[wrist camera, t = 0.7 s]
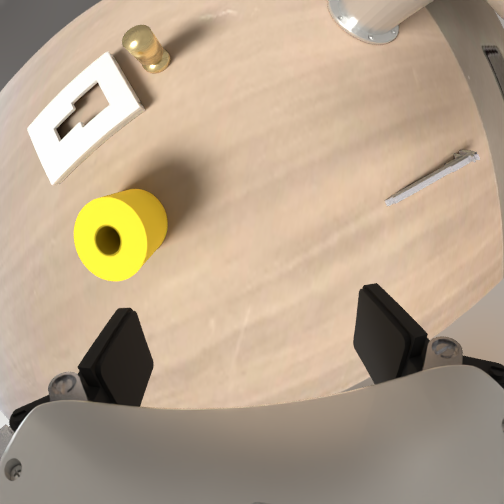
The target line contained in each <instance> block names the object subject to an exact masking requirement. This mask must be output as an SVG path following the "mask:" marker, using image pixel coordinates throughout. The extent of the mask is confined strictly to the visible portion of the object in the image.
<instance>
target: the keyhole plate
mask: <svg viewBox="0 0 504 504" xmlns="http://www.w3.org/2000/svg"><path fill="white" fill-rule="evenodd" d="M115 60H116V59H115V58H114V56H113V55H111V54H110V53H109V52H108V51H107V52H106V53H105V54H103V55H102V56H101V57H99V58H98V59H97V60H96V61H94V62H93V63H92V64H91V65H90V66H88V67H87V68H86V69H85V70H84V71H83V72H81V73H80V74H79V75H78V76H77V77H76V78H75V79H74V80H72V81H71V82H70V83H69V84H68V85H67V86H66V87H65V88H64V89H63V90H62V91H61V92H60V93H59V94H58V95H57V96H56V97H55V98H54V99H53V100H52V101H51V102H50V103H49V104H48V105H47V106H46V108H45V109H44V110H43V111H42V112H41V113H40V114H39V115H38V116H37V118H36V119H35V120H34V121H33V122H32V123H31V125H30V126H29V127H28V128H27V130H28V132H29V135H30V138H31V140H32V142H33V145H34V147H35V150H36V152H37V154H38V157H39V159H40V161H41V163H42V166H43V168H44V170H45V172H46V174H47V176H48V178H49V180H50V182H51V184H52V185H56V184H61V183H62V182H63V180H64V179H65V178H66V177H67V176H68V175H69V174H70V173H71V172H72V171H73V170H74V169H75V168H77V167H78V166H79V165H80V164H81V163H82V162H83V161H84V160H85V159H86V158H87V157H88V156H89V155H90V154H92V153H93V152H94V151H95V150H96V149H97V148H98V147H99V146H101V145H102V144H103V143H104V142H105V141H106V140H108V139H109V138H110V137H111V136H113V135H114V134H115V133H116V132H117V131H119V130H120V129H121V128H122V127H124V126H125V125H126V124H128V123H129V122H130V121H132V120H133V119H134V118H136V117H137V116H138V115H140V114H141V113H142V112H144V111H145V109H144V107H143V105H141V104H140V103H141V102H140V100H139V99H138V97H137V95H136V93H135V92H134V90H133V88H132V87H131V85H130V83H129V82H128V80H127V78H126V77H125V75H124V73H123V71H122V70H121V68H120V66H119V65H118V63H117V62H116V61H115ZM96 83H99V85H100V87H101V89H102V91H103V93H104V95H105V97H106V98H107V100H108V102H109V104H110V105H109V106H107V107H106V108H105V109H104V110H103V111H101V112H100V113H99V114H98V115H97V116H96V117H94V118H93V119H92V120H91V121H90V122H89V123H88V124H87V125H85V126H84V124H83V122H79V123H78V124H77V125H76V126H75V127H74V128H73V129H72V130H71V131H70V132H69V133H68V134H67V135H66V136H65V137H64V138H63V139H62V140H61V139H60V136H59V134H58V132H57V130H56V129H57V128H58V127H59V126H60V125H61V124H62V122H63V121H64V120H65V119H66V118H67V117H69V116H70V115H71V114H72V113H73V112H74V111H75V110H76V108H75V106H74V103H75V102H76V101H77V100H78V99H79V98H80V97H81V96H83V95H84V94H85V93H86V92H87V91H88V90H89V89H91V88H92V87H93V86H94V85H95V84H96Z"/></svg>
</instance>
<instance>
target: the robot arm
mask: <svg viewBox="0 0 504 504" xmlns="http://www.w3.org/2000/svg"><path fill="white" fill-rule="evenodd" d="M432 1H434V0H328V9H329V12H330V14H331V16H332V18H333V19H334V20H335V22H336V23H337V24H338V25H339V26H340V27H341V28H342V29H343V30H345V31H346V32H347V33H348V34H350V35H351V36H353V37H355V38H357V39H359V40H361V41H364V42H366V43H370V44H376V45H382V44H387V43H389V42H391V41H392V40H394V39H395V38H396V37H397V34H398V31H399V25H398V24H400V23H401V22H402V21H404V20H405V19H407V18H408V17H410V16H411V15H413V14H414V13H415V12H417V11H418V10H420V9H421V8H423V7H425V6H426V5H428V4H429V3H431V2H432ZM486 1H487V3H488V4H489V5H490V6H491V7H492V8H493V9H494V10H495V11H496V13H497V14H498V15H499V16H501V18H503V19H504V0H486ZM427 335H428V334H427V333H426V332H425V331H424V330H423V328H422V327H421V326H420V325H419V324H418V323H417V322H416V321H415V320H414V319H413V318H412V317H411V316H410V315H409V314H408V313H407V312H406V311H405V310H404V309H403V308H402V307H401V306H400V305H399V304H398V303H397V302H396V301H395V300H394V299H393V298H392V297H391V296H390V295H389V294H388V293H387V292H386V291H385V290H384V289H382V288H381V287H380V286H379V285H378V284H377V283H375V284H369V285H364V286H363V289H360V291H359V298H358V308H357V317H356V325H355V333H354V340H353V343H354V348H355V350H356V352H357V353H358V355H359V357H360V359H361V360H362V362H363V364H364V366H365V367H366V369H367V371H368V373H369V374H370V376H371V378H372V380H373V381H374V383H375V385H371V386H367V387H363V388H359V389H355V390H351V391H347V392H342V393H338V394H333V395H328V396H322V397H317V398H311V399H305V400H299V401H292V402H285V403H277V404H268V405H258V406H247V407H232V408H206V409H176V408H152V407H140V405H141V402H142V399H143V396H144V393H145V390H146V387H147V384H148V381H149V378H150V375H151V372H152V370H153V359H152V356H151V354H150V351H149V348H148V345H147V342H146V340H145V337H144V334H143V331H142V328H141V325H140V321H139V318H138V315H137V313H136V311H133V310H132V309H131V308H118V309H117V310H116V312H115V313H114V315H113V316H112V317H111V319H110V320H109V322H108V323H107V324H106V326H105V327H104V329H103V330H102V331H101V333H100V334H99V336H98V337H97V339H96V340H95V342H94V343H93V344H92V346H91V347H90V349H89V350H88V352H87V353H86V355H85V356H84V358H83V359H82V361H81V363H80V364H79V366H78V369H79V373H78V375H77V374H76V373H74V372H64V373H61V374H59V375H57V376H56V377H54V378H53V379H52V380H51V382H50V384H49V386H48V391H49V395H47V396H45V397H43V398H41V399H38V400H36V401H34V402H32V403H29V404H27V405H25V406H22V407H20V408H18V409H16V410H15V411H14V412H13V414H12V415H11V417H10V420H9V423H10V424H9V425H10V426H9V427H8V426H7V425H5V426H3V427H2V428H1V429H0V504H504V366H503V365H501V364H499V363H495V362H491V361H486V360H481V359H476V358H471V357H466V356H463V355H462V353H463V352H462V347H461V345H460V344H459V343H458V342H457V341H456V340H454V339H452V338H449V337H436V338H433V339H432V340H429V339H428V338H427Z"/></svg>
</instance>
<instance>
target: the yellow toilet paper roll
mask: <svg viewBox="0 0 504 504" xmlns="http://www.w3.org/2000/svg"><path fill="white" fill-rule="evenodd" d="M167 227H168V222H167V215H166V212H165V209H164V207H163V205H162V204H161V202H160V201H159V200H158V199H157V198H156V197H155V196H154V195H153V194H151V193H149V192H147V191H145V190H141V189H129V190H125V191H122V192H118V193H114V194H111V195H107V196H104V197H101V198H97V199H94V200H92V201H91V202H89V203H88V204H86V205H85V206H84V207H83V209H82V210H81V211H80V213H79V215H78V217H77V219H76V222H75V226H74V243H75V247H76V250H77V253H78V255H79V257H80V259H81V261H82V262H83V264H84V265H85V266H86V268H87V269H88V270H89V271H91V272H92V273H93V274H94V275H96V276H98V277H100V278H102V279H104V280H108V281H122V280H125V279H128V278H130V277H131V276H133V275H134V274H135V273H136V272H137V271H138V270H139V269H140V268H141V267H142V266H143V264H144V263H145V262H146V261H147V260H148V259H149V258H150V256H151V255H152V254H153V253H154V252H155V251H156V250H157V249H158V248H159V246H160V245H161V244H162V242H163V241H164V239H165V236H166V233H167Z"/></svg>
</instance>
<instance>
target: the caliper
mask: <svg viewBox="0 0 504 504" xmlns="http://www.w3.org/2000/svg"><path fill="white" fill-rule="evenodd" d="M453 155H454V158H455V159H453V160H451V161H449V162H448V163H445V164H444V166H443V167H442V168H440V169H438V170H436V171H435V172H433V173H431V174H429V175H427V176H426V177H424V178H422V179H420V180H418V181H417V182H415V183H413V184H411V185H409V186H407V187H406V188H404V189H402V190H400V191H398V192H397V193H395V194H394V195H392V196H391V197H390V198H388V199H386V200H385V203H386V205H387V206H389V205H391V204H393V203H398V202H399V201H401V200H403V199H405V198H407V197H408V196H410V195H412V194H414V193H416V192H417V191H419V190H421V189H423V188H425V187H426V186H428V185H430V184H432V183H433V182H435V181H437V180H439V179H440V178H442V177H444V176H446V175H447V174H449V173H451V172H455V171H456V170H458V169H460V168H462V167H463V166H465V165H467V164H468V163H470V161H473V162H476V161H475V160H480V158H479V155H478V154H477V152H474V151H471V150H459V154H453Z"/></svg>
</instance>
